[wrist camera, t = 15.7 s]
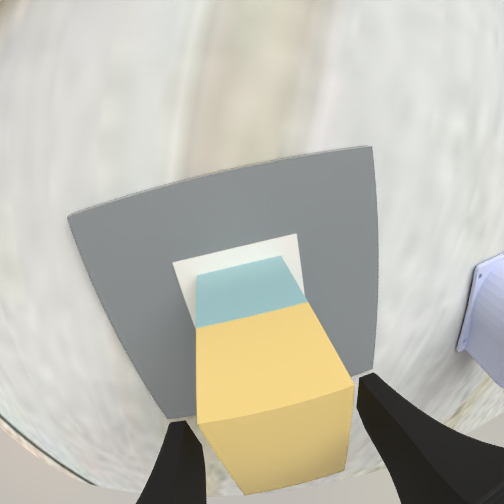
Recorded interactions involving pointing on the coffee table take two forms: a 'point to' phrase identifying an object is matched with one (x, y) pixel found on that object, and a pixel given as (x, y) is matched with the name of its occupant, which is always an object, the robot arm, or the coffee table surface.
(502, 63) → the coffee table surface
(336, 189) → the baseplate
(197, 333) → the ochre brick
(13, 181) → the coffee table surface
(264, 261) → the teal brick
